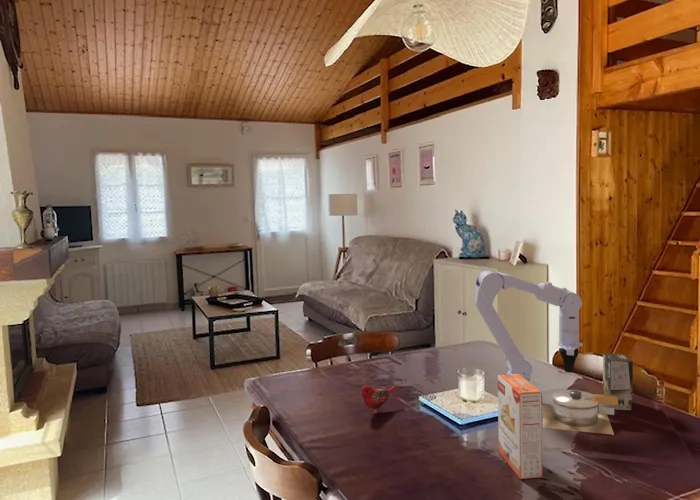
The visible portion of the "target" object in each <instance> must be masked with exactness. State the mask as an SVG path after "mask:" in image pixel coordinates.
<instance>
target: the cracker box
mask: <svg viewBox="0 0 700 500" xmlns="http://www.w3.org/2000/svg"><path fill="white" fill-rule="evenodd" d="M542 405H543V392H542V391H540V389H538V388H537V387H536V386H535V385H533V384H532V383H531V382H530V383H529V382H528V381H527V380H526V379H524V378H523V377H522V376H521V375H519V374H507V373H505V374H498V375H497V409H498V411H497V412H498V413H497V414H498V417H497V419H498V421H497V422H498V423H497V424H498V453H499V454H500V456H501V458H502V459H504V461H505V462H506V463H507V464H508V466H509V467H510V468H511V471H513V472H514V474H515V475H516V476H517V477H518V479H519V480H528V479H541V478H543V476H544V475H543V471H544V470H543V461H544V460H543V416H542Z"/></svg>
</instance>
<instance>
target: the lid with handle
mask: <svg viewBox="0 0 700 500" xmlns="http://www.w3.org/2000/svg"><path fill="white" fill-rule="evenodd" d="M551 395H552V399H551V400H552V401H554V402H555V403H557V404H559V405H562V406H565V407H569V408H576V409H590V408H595V407H597V406H599V404H606V405H607V404H612V405H618V397H617V396H616V395H603V394H596V393H594V394H593V393H591V392H588V391H581V390H576V389H575V390H574V389H562V390H557V391H555V392H553V393H552V394H551Z"/></svg>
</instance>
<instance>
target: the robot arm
mask: <svg viewBox="0 0 700 500" xmlns="http://www.w3.org/2000/svg"><path fill="white" fill-rule="evenodd" d="M474 285H475V286H474V287H475V292H474V304H475V307H476V308H477V311H478V312H479V314H480V315H481V317H482V319H483V320H484V323H485V324H486V326H487V328H488V330H489V331H490V332H491V334H492V337H493V338H494V340H495V342H496V344H497V345H498V347H499V348H500V350H501V352H502V355H503V356H504V361H505V366H506V367H507V369H508V371H507V373H506V374H519V375H521V376H522V377H523V378H524V379H526V380H527V381H528V382H529V383H531V376H532V374H533V367H532V364H531V363H530V361H528V360H527V359H526V358H525V356H524V355H523V354H522V353H521V352H520V350H519V348H518V347H517V345H516V343H515V342H514V340H513V339H512V337H511V335H510V333H509V332H508V329H507V328H506V326H505V325H504V322H503V321H502V320H501V317H500V316H499V314H498V312H497V311H496V309H495V307H494V305H493V303H494V301H495V299H496V296H497V295H498V294H499V293H500V292H501V290H502V289H503V290H509V289H510V288H513V289H516V290H519V291H523V292H526V293H529V294H533V295H534V296H535V298H536V300H537V301H541V302H544V303H547V304H549V305H553V306H556V307H559V308H558V309H559V314H558V315H559V316H558V342H557V344H558V346H559V348H558V350H559V351H558V352H559V354H560V355H561V358H562V363H563V369H564V372H565V373H573V372H574V367H575V363H576V360H577V357H578V356H579V353H580V352H579V347H584V345H583V342H579V339H580V338H579V336H580V334H579V333H580V331H579V330H580V326H579V325H580V313H579V310H580V309H581V307H582V306H583V301H582V298H581V297H580V296H579V294H577V293H575V292H573V291H571V290H569V289H568V288H566V287H558V286H555V285H553V283H552V282H549V281H546V282H541V283H538V284H536V283H534V282H530V281H528V280H525V279H522V278H519V277H517V276H515V275H511V274H510V273H509V274H508V273H504V272H500V271H495V272H494V271H493V270H491V269H484V270H481V271H480V272H479V274H478V276H477V277H476V280H475V282H474Z"/></svg>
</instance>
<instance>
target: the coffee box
mask: <svg viewBox="0 0 700 500" xmlns="http://www.w3.org/2000/svg"><path fill="white" fill-rule="evenodd" d="M602 358H603V360H602V395H616V396H617V397H618V405H613V406H614V411H617V410H619V411H632V410H633V382H634V381H633V380H634V379H633V375H634V373H633V372H634V371H633V370H634V361H633V360H632V359H630V358H629V357H628V356H627V355H626V354H625V353H603V354H602ZM606 405H612V404H606Z"/></svg>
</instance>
